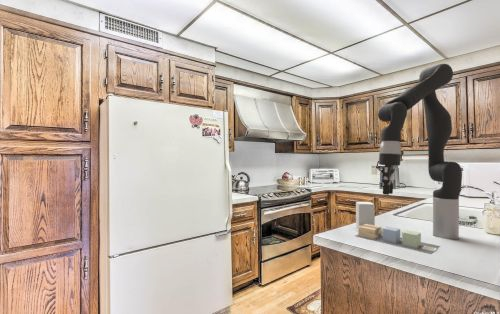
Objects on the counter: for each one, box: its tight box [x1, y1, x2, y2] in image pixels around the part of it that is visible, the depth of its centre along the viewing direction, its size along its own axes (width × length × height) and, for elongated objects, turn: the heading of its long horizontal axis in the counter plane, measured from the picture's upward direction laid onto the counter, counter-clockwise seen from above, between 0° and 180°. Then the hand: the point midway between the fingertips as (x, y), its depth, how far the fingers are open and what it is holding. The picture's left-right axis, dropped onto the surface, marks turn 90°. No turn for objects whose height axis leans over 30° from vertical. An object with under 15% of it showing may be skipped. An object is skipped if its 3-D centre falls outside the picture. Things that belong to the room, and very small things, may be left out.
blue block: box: [382, 225, 401, 243], centre depth 111 cm, size 5×5×5 cm
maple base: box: [358, 224, 382, 239], centre depth 118 cm, size 7×7×4 cm
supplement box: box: [355, 201, 376, 230], centre depth 131 cm, size 7×7×13 cm
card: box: [422, 246, 438, 253], centre depth 101 cm, size 4×4×1 cm
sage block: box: [401, 229, 422, 248], centre depth 105 cm, size 5×5×5 cm
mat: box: [354, 233, 441, 255], centre depth 111 cm, size 12×29×1 cm, turn 42°
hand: (387, 194), depth 105 cm, fingers open, 8 cm apart
